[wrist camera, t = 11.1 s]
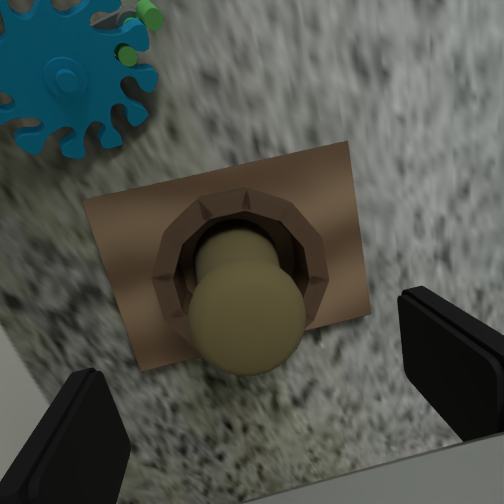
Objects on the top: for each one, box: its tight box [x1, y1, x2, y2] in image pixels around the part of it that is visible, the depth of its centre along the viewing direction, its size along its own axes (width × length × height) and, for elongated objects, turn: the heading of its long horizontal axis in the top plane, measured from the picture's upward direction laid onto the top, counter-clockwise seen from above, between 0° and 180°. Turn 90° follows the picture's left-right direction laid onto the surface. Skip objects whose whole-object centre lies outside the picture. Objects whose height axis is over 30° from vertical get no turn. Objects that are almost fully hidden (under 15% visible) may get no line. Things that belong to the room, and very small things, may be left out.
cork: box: [188, 219, 306, 376], centre depth 19 cm, size 6×6×11 cm
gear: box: [0, 0, 163, 159], centre depth 19 cm, size 11×6×10 cm
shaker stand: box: [82, 141, 371, 371], centre depth 23 cm, size 13×18×5 cm
